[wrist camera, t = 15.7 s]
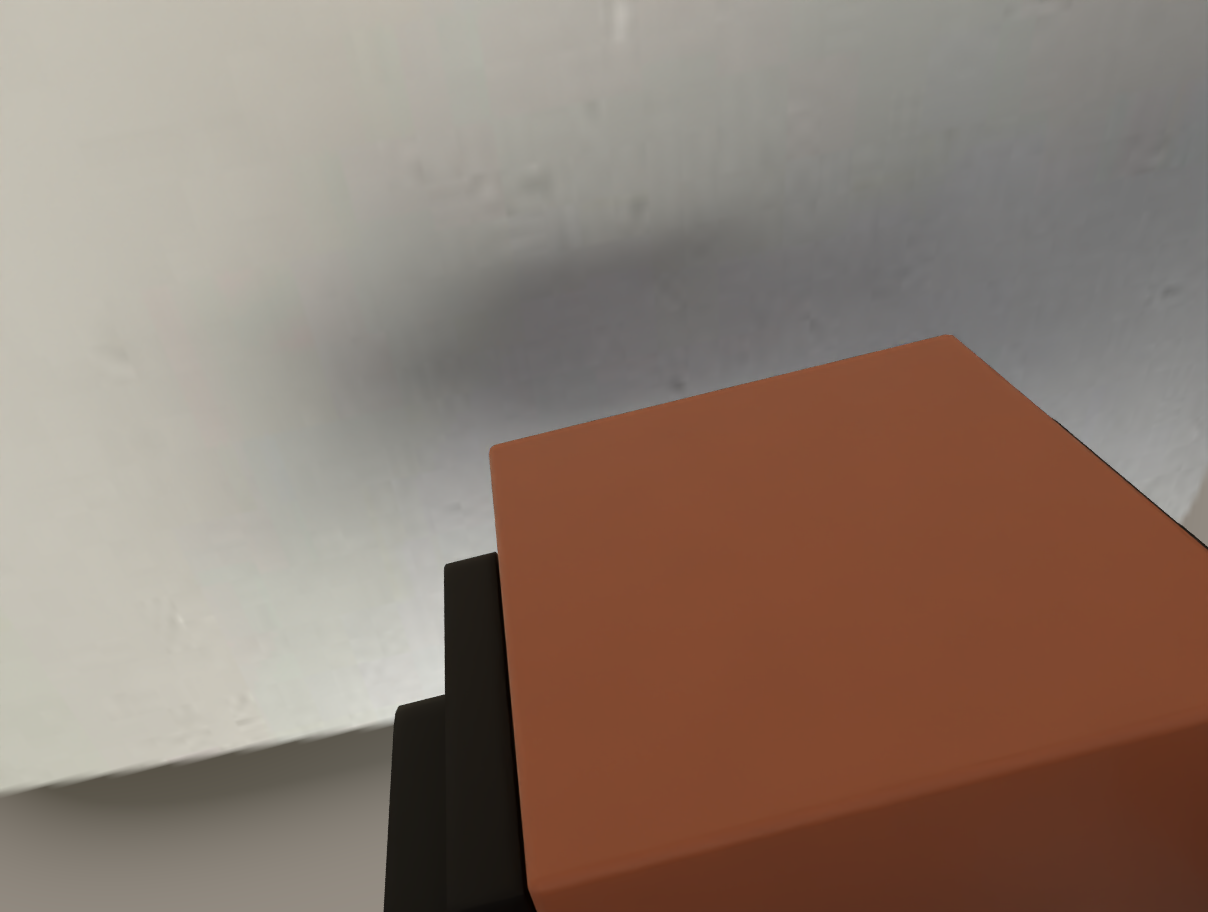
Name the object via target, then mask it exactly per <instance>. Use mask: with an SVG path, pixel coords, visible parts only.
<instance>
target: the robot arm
mask: <svg viewBox="0 0 1208 912" xmlns="http://www.w3.org/2000/svg"><path fill="white" fill-rule="evenodd" d="M1052 419H1053V418H1052ZM1053 420H1054V419H1053ZM1054 421H1055V422H1057V421H1056V420H1054ZM1057 423H1058V422H1057ZM1058 424H1059V425H1060V426H1061V427H1062V428H1064V427H1063V426H1062V425H1061V424H1060V423H1058ZM1064 429H1065V430H1066V431H1067V432H1068V433H1070V432H1069V431H1068V430H1067V429H1066V428H1064ZM1070 434H1071V435H1072V436H1073V437H1074V438H1076V437H1075V436H1074V435H1073V434H1072V433H1070ZM1076 439H1077V438H1076ZM1077 440H1078V441H1079V442H1080V443H1081V444H1083V443H1082V442H1081V441H1080V440H1079V439H1077ZM1083 445H1084V446H1085V447H1086V448H1087V449H1089V448H1088V447H1087V446H1086V445H1085V444H1083ZM1089 450H1090V451H1091V452H1092V453H1093V454H1095V453H1094V452H1093V451H1092V450H1091V449H1089ZM1095 455H1096V454H1095ZM1096 456H1097V457H1098V458H1099V459H1100V460H1102V459H1101V458H1100V457H1099V456H1098V455H1096ZM1102 461H1103V462H1104V463H1105V464H1106V465H1108V464H1107V463H1106V462H1105V461H1104V460H1102ZM1108 466H1109V467H1110V468H1111V469H1112V470H1114V469H1113V468H1112V467H1111V466H1110V465H1108ZM1114 471H1115V470H1114ZM1115 472H1116V473H1117V474H1118V475H1119V476H1121V475H1120V474H1119V473H1118V472H1117V471H1115ZM1121 477H1122V478H1123V479H1124V480H1125V481H1127V480H1126V479H1125V478H1124V477H1123V476H1121ZM1127 482H1128V483H1129V484H1130V485H1131V486H1132V487H1134V488H1135V489H1136V490H1137V491H1138V492H1140V491H1139V490H1138V489H1137V488H1136V487H1135V486H1133V485H1132V484H1131V483H1130V482H1129V481H1127ZM1140 493H1141V494H1142V495H1143V496H1144V497H1146V496H1145V495H1144V494H1143V493H1142V492H1140ZM1146 498H1147V499H1148V500H1149V501H1150V502H1151V503H1153V504H1154V505H1155V506H1156V507H1157V508H1159V507H1158V506H1157V505H1156V504H1155V503H1154V502H1152V501H1151V500H1150V499H1149V498H1148V497H1146ZM1159 509H1160V510H1161V511H1162V512H1163V513H1165V512H1164V511H1163V510H1162V509H1161V508H1159ZM1165 514H1166V515H1167V516H1168V517H1169V518H1170V519H1172V520H1173V521H1174V522H1175V523H1176V524H1178V525H1179V526H1180V527H1181V528H1182V529H1183V530H1185V531H1186V532H1187V533H1188V534H1189V535H1191V536H1192V537H1193V538H1194V539H1195V540H1197V541H1198V542H1199V543H1200V544H1201V545H1202V546H1204V547H1205V548H1206V549H1207V550H1208V547H1207V546H1206V545H1205V544H1204V543H1202V542H1201V541H1200V540H1199V539H1198V538H1196V537H1195V536H1194V535H1193V534H1192V533H1190V532H1189V531H1188V530H1187V529H1186V528H1184V527H1183V526H1182V525H1180V524H1179V523H1177V522H1176V521H1175V520H1174V519H1173V518H1171V517H1170V516H1169V515H1168V514H1167V513H1165ZM444 627H445V695H441V696H437V697H433V698H429V699H425V700H421V701H417V702H413V703H409V704H405V705H401V706H399V707H398V709H397V711H396V714H395V721H394V732H393V750H392V770H391V787H390V788H391V789H390V806H389V825H388V842H387V860H386V878H385V897H384V912H537V910H536V908H535V905H534V903H533V900H532V897H531V895H530V892H529V890H528V885H527V873H526V862H525V851H524V840H523V829H522V817H521V806H520V795H519V784H518V773H517V762H516V750H515V739H514V728H513V717H512V706H511V694H510V683H509V672H508V661H507V650H506V639H505V627H504V616H503V605H502V594H501V583H500V571H499V560H498V554H497V553H496V552H493V553H489V554H485V555H481V556H477V557H473V558H469V559H465V560H461V561H457V562H453V563H449V564H446V565H445V567H444Z"/></svg>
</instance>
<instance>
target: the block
mask: <svg viewBox="0 0 1208 912" xmlns="http://www.w3.org/2000/svg"><path fill="white" fill-rule="evenodd" d="M489 460H490V471H491V482H492V493H493V504H494V516H495V527H496V538H497V549H498V560H499V571H500V583H501V594H502V605H503V616H504V627H505V639H506V650H507V661H508V672H509V683H510V694H511V706H512V717H513V728H514V739H515V750H516V762H517V773H518V784H519V795H520V806H521V817H522V829H523V840H524V851H525V862H526V873H527V885H528V890H529V892H530V895H531V897H532V900H533V903H534V905H535V908H536V910H537V912H1208V550H1207V549H1206V548H1205V547H1204V546H1202V545H1201V544H1200V543H1199V542H1198V541H1197V540H1195V539H1194V538H1193V537H1192V536H1191V535H1189V534H1188V533H1187V532H1186V531H1185V530H1183V529H1182V528H1181V527H1180V526H1179V525H1178V524H1176V523H1175V522H1174V521H1173V520H1172V519H1170V518H1169V517H1168V516H1167V515H1166V514H1165V513H1163V512H1162V511H1161V510H1160V509H1159V508H1157V507H1156V506H1155V505H1154V504H1153V503H1151V502H1150V501H1149V500H1148V499H1147V498H1146V497H1144V496H1143V495H1142V494H1141V493H1140V492H1138V491H1137V490H1136V489H1135V488H1134V487H1132V486H1131V485H1130V484H1129V483H1128V482H1127V481H1125V480H1124V479H1123V478H1122V477H1121V476H1119V475H1118V474H1117V473H1116V472H1115V471H1114V470H1112V469H1111V468H1110V467H1109V466H1108V465H1106V464H1105V463H1104V462H1103V461H1102V460H1100V459H1099V458H1098V457H1097V456H1096V455H1095V454H1093V453H1092V452H1091V451H1090V450H1089V449H1087V448H1086V447H1085V446H1084V445H1083V444H1081V443H1080V442H1079V441H1078V440H1077V439H1076V438H1074V437H1073V436H1072V435H1071V434H1070V433H1068V432H1067V431H1066V430H1065V429H1064V428H1062V427H1061V426H1060V425H1059V424H1058V423H1057V422H1055V421H1054V420H1053V419H1052V418H1051V417H1049V416H1048V415H1047V414H1046V413H1045V412H1044V411H1042V410H1041V409H1040V408H1039V407H1038V406H1036V405H1035V404H1034V403H1033V402H1032V401H1030V400H1029V399H1028V398H1027V397H1026V396H1025V395H1023V394H1022V393H1021V392H1020V391H1019V390H1017V389H1016V388H1015V387H1014V386H1013V385H1011V384H1010V383H1009V382H1008V381H1007V380H1006V379H1004V378H1003V377H1002V376H1001V375H1000V374H998V373H997V372H996V371H995V370H994V369H993V368H991V367H990V366H989V365H988V364H987V363H985V362H984V361H983V360H982V359H981V358H979V357H978V356H977V355H976V354H975V353H974V352H972V351H971V350H970V349H969V348H968V347H966V346H965V345H964V344H963V343H962V342H960V341H959V340H958V339H957V338H956V337H955V336H953V335H941V336H937V337H933V338H929V339H925V340H921V341H917V342H913V343H909V344H904V345H900V346H896V347H892V348H888V349H884V350H880V351H876V352H872V353H868V354H864V355H860V356H855V357H851V358H847V359H843V360H839V361H835V362H831V363H827V364H823V365H819V366H815V367H811V368H806V369H802V370H798V371H794V372H790V373H786V374H782V375H778V376H774V377H770V378H766V379H762V380H757V381H753V382H749V383H745V384H741V385H737V386H733V387H729V388H725V389H721V390H717V391H713V392H708V393H704V394H700V395H696V396H692V397H688V398H684V399H680V400H676V401H672V402H668V403H664V404H659V405H655V406H651V407H647V408H643V409H639V410H635V411H631V412H627V413H623V414H619V415H615V416H610V417H606V418H602V419H598V420H594V421H590V422H586V423H582V424H578V425H574V426H570V427H566V428H562V429H557V430H553V431H549V432H545V433H541V434H537V435H533V436H529V437H525V438H521V439H517V440H513V441H508V442H504V443H500V444H496V445H494V446H492V447H491V448H490V452H489Z"/></svg>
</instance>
